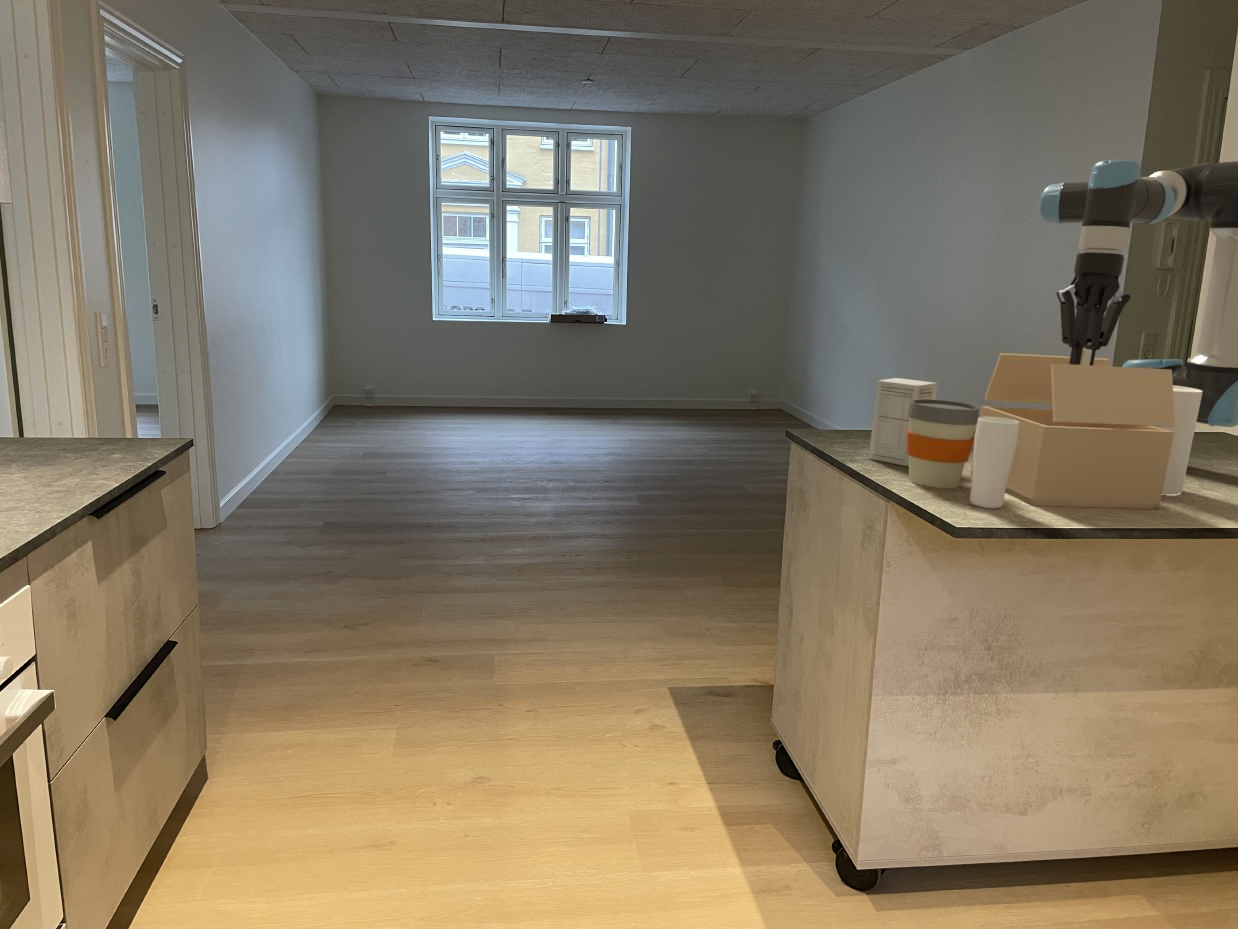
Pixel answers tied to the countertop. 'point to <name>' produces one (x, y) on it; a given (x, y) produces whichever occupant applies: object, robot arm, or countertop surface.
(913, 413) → the reusable coffee cup
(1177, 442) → the canister
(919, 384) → the supplement box
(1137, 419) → the flap
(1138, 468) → the carton
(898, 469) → the countertop surface
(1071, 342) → the robot arm
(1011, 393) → the flap
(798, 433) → the countertop surface
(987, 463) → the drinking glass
